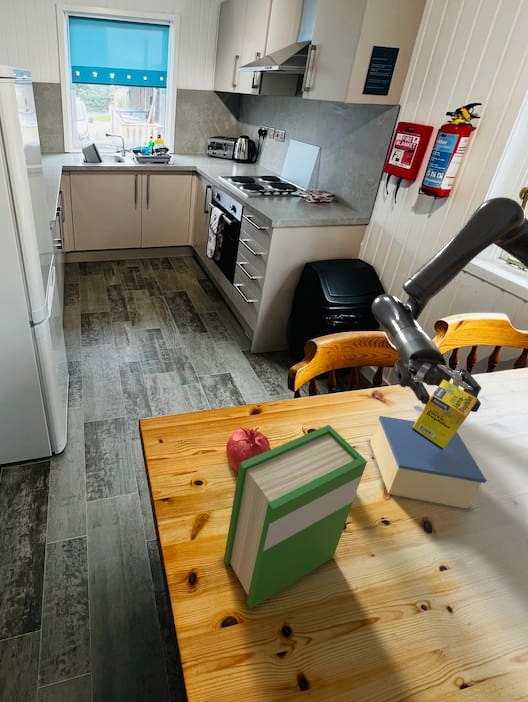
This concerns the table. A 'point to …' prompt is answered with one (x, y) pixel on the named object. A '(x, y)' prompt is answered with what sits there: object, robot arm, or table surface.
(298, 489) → the hardback book
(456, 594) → the table surface
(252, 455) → the pomegranate
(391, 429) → the lid
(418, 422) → the supplement box
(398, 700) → the table surface
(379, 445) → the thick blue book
